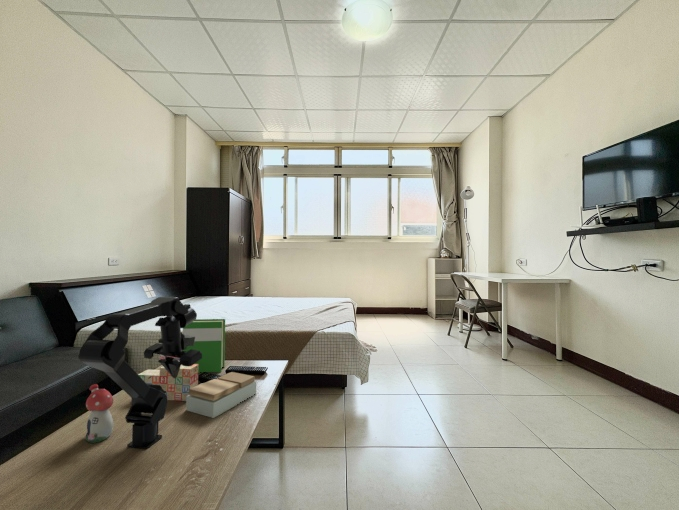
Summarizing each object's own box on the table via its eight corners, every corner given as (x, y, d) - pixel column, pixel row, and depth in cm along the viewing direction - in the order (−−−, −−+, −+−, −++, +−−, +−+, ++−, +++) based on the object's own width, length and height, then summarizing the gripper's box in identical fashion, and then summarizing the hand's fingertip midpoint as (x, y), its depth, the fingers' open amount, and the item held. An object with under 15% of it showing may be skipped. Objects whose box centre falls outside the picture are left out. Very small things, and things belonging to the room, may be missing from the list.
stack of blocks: (136, 399, 123) (136, 366, 123) (147, 392, 129) (147, 361, 130) (189, 401, 121) (190, 368, 122) (198, 394, 128) (198, 363, 128)
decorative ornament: (83, 434, 98) (84, 384, 98) (109, 426, 102) (110, 379, 103) (87, 447, 91) (88, 393, 91) (115, 438, 96) (116, 387, 96)
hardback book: (224, 367, 160) (225, 318, 161) (220, 372, 153) (221, 321, 153) (187, 368, 158) (188, 319, 158) (181, 373, 151) (182, 322, 151)
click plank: (213, 401, 109) (213, 395, 109) (188, 394, 114) (188, 388, 114) (238, 389, 120) (238, 383, 120) (214, 383, 125) (214, 378, 125)
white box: (213, 418, 108) (213, 397, 108) (186, 410, 114) (186, 390, 114) (256, 393, 128) (256, 376, 128) (231, 388, 134) (231, 371, 134)
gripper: (211, 328, 110) (214, 369, 113) (167, 321, 115) (171, 361, 118) (188, 342, 99) (191, 387, 102) (140, 334, 104) (145, 377, 108)
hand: (175, 377), depth 108 cm, fingers closed
